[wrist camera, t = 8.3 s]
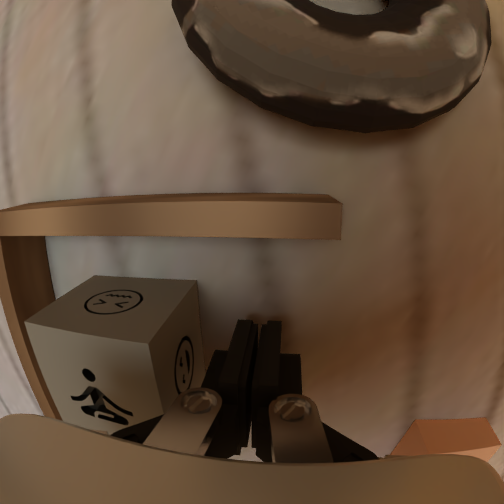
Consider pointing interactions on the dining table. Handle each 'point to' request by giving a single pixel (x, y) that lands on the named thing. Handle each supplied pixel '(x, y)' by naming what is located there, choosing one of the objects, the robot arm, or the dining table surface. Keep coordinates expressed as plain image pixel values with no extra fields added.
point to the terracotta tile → (449, 438)
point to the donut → (342, 57)
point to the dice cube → (119, 349)
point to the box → (136, 224)
